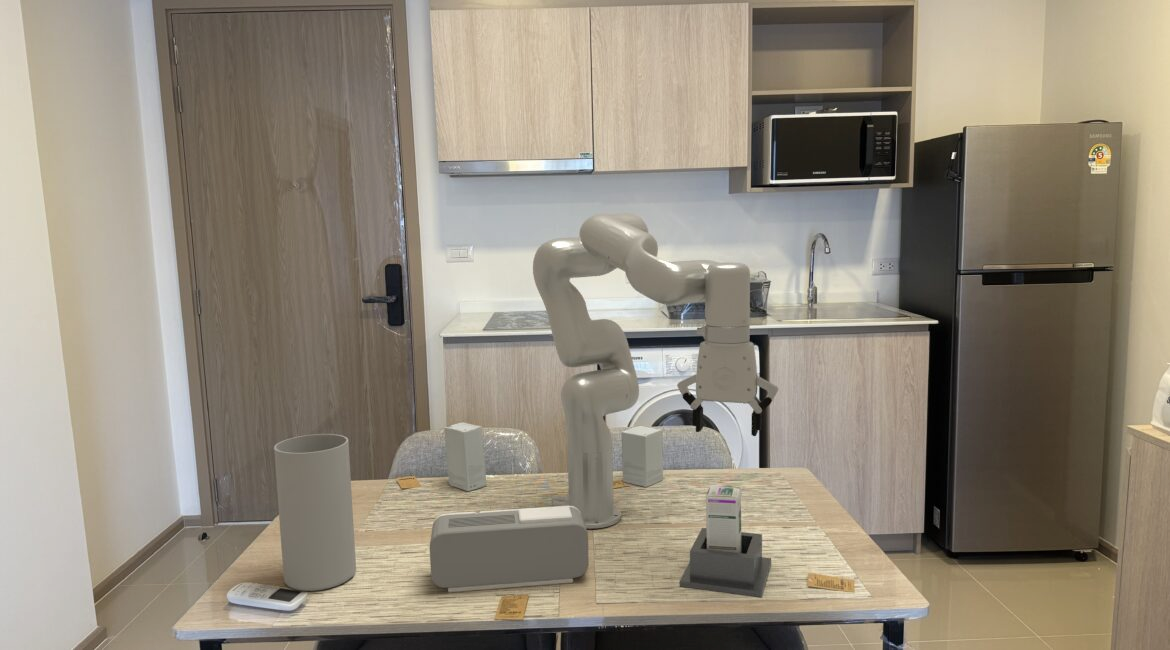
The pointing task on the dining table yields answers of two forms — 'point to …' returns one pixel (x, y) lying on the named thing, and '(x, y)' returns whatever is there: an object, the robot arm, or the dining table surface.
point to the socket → (728, 567)
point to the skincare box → (465, 456)
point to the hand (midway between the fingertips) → (726, 432)
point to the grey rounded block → (508, 548)
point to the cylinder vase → (315, 511)
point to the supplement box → (642, 456)
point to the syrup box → (723, 518)
